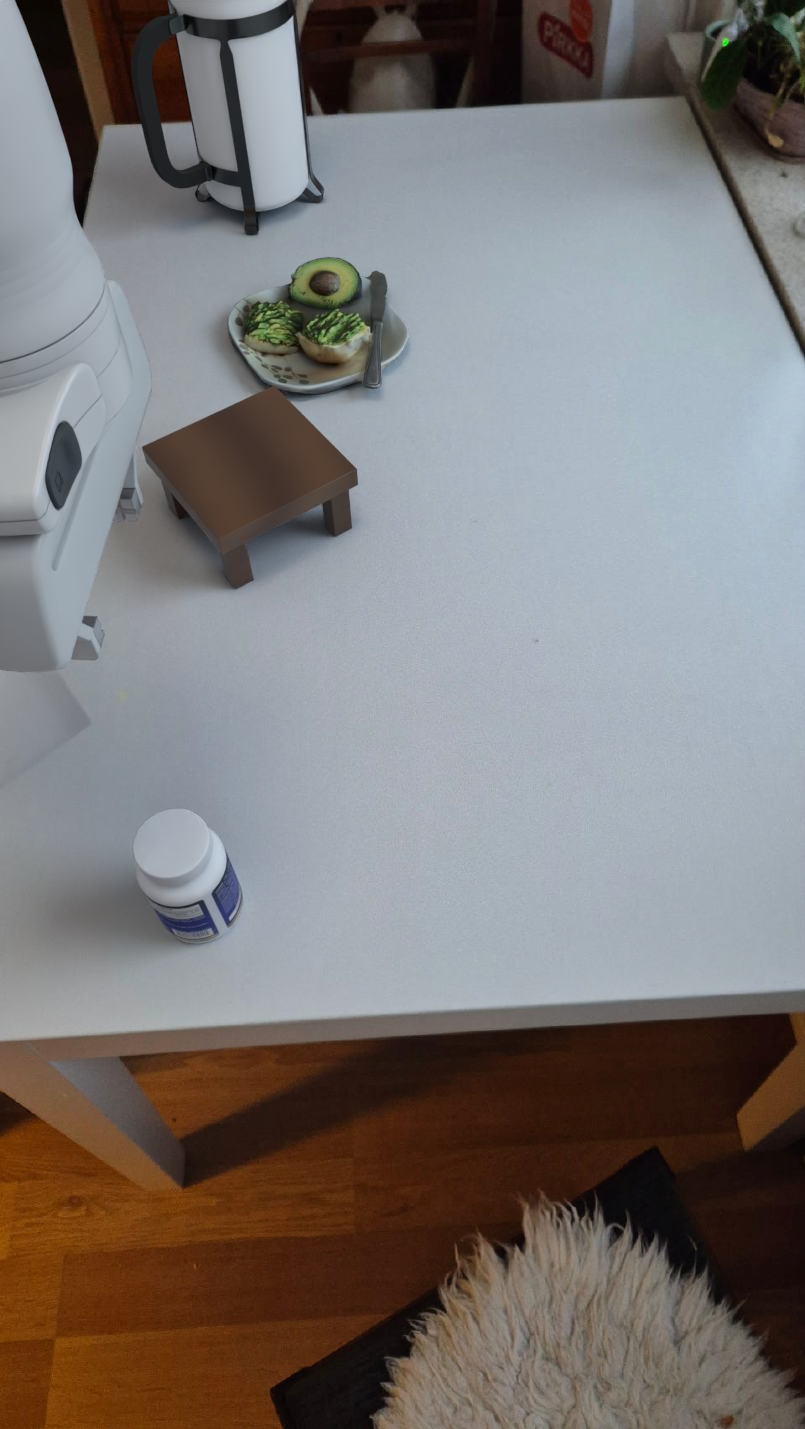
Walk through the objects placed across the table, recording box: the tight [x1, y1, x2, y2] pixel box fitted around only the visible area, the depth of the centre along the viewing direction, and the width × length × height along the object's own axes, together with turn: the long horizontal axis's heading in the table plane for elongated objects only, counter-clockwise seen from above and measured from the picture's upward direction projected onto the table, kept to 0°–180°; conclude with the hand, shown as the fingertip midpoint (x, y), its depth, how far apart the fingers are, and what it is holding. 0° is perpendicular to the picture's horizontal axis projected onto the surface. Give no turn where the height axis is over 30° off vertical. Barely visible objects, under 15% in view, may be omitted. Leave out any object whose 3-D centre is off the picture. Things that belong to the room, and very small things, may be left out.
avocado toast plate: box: [226, 256, 409, 395], centre depth 100 cm, size 19×18×5 cm
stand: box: [141, 385, 359, 590], centre depth 86 cm, size 13×13×7 cm
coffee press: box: [130, 0, 325, 234], centre depth 104 cm, size 17×16×30 cm
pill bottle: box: [132, 807, 244, 944], centre depth 65 cm, size 6×6×10 cm
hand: (107, 577), depth 53 cm, fingers open, 8 cm apart
